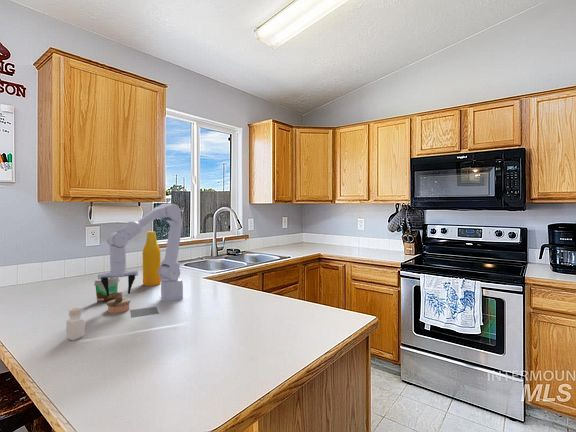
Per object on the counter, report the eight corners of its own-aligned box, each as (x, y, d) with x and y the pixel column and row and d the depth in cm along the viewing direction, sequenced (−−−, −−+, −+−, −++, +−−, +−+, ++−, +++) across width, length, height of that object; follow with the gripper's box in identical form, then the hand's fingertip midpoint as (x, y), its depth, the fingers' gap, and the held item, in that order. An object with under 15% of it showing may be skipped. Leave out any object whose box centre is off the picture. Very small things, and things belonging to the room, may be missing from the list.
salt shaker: (72, 341, 104) (71, 312, 104) (65, 338, 106) (65, 309, 106) (85, 337, 107) (84, 308, 107) (79, 334, 109) (78, 306, 109)
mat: (156, 307, 138) (156, 306, 138) (159, 314, 129) (159, 313, 129) (130, 311, 133) (130, 310, 133) (131, 319, 124) (131, 317, 124)
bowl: (128, 307, 139) (128, 299, 139) (129, 312, 132) (129, 304, 132) (108, 309, 135) (108, 302, 135) (108, 315, 129) (108, 307, 129)
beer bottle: (157, 281, 186) (156, 230, 185) (163, 284, 180) (162, 231, 179) (140, 283, 180) (139, 231, 179) (146, 287, 173) (145, 232, 172)
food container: (106, 304, 143) (106, 281, 143) (94, 303, 145) (94, 280, 144) (125, 296, 156) (125, 275, 155) (114, 295, 157) (114, 275, 156)
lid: (132, 299, 139) (132, 289, 139) (127, 305, 130) (127, 295, 130) (110, 301, 137) (110, 290, 137) (103, 307, 128) (103, 296, 128)
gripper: (136, 258, 140) (137, 290, 141) (97, 261, 133) (98, 294, 134) (138, 261, 134) (138, 294, 135) (97, 264, 127) (98, 298, 128)
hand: (118, 294), depth 134 cm, fingers open, 7 cm apart
